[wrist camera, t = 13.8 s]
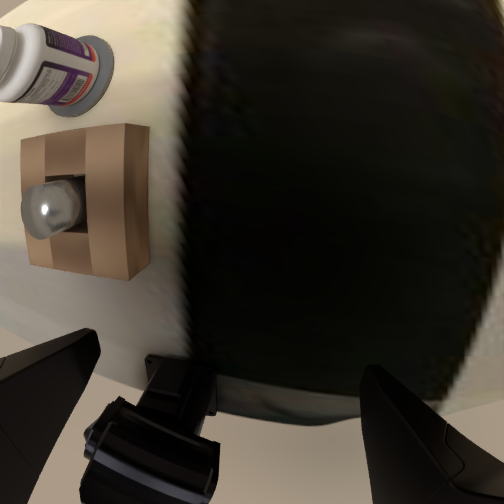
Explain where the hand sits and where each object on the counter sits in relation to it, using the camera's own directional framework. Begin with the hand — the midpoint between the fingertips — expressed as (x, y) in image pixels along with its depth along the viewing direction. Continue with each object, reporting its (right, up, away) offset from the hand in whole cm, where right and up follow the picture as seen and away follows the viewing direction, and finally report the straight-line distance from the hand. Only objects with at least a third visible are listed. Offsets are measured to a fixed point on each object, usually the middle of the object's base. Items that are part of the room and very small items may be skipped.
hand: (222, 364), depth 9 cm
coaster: (-13, +17, +9) cm, 23 cm away
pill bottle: (-13, +17, +9) cm, 23 cm away
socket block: (-12, +8, +12) cm, 18 cm away
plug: (-12, +8, +11) cm, 18 cm away
